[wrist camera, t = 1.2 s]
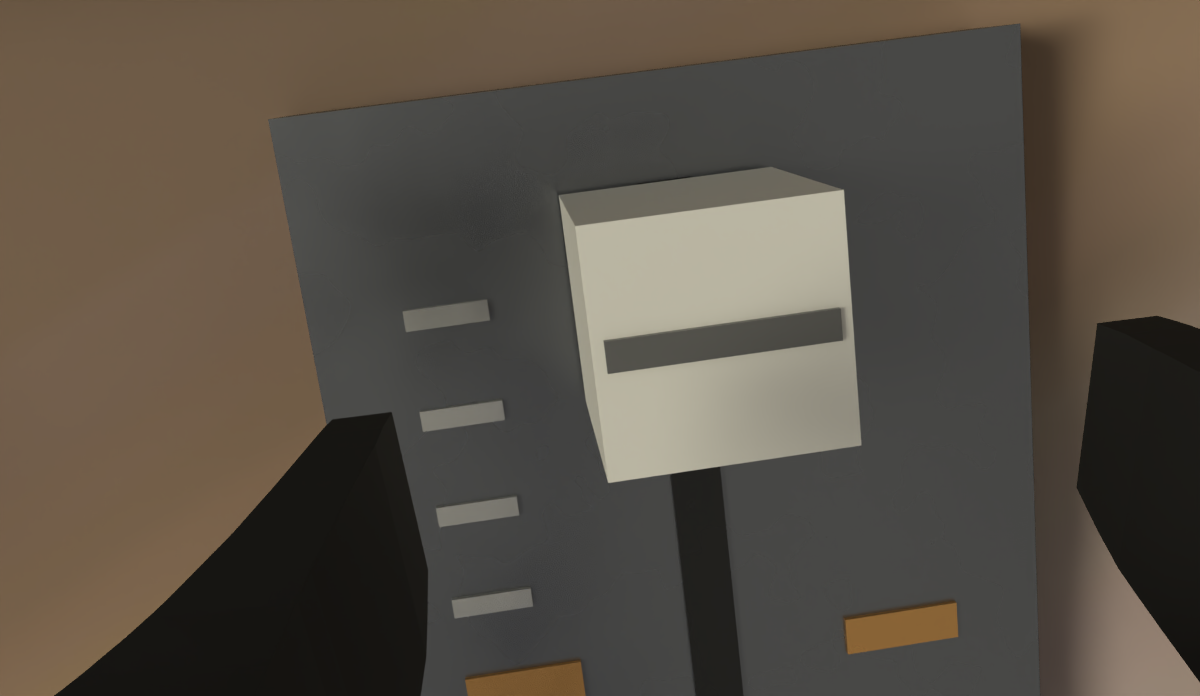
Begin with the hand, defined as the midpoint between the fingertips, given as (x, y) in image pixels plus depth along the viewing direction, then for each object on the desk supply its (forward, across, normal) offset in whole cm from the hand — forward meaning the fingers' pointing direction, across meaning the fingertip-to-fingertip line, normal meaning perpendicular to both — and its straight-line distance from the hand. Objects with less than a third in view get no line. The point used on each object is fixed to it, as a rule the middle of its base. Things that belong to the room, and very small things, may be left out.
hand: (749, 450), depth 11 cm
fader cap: (+10, 0, +3) cm, 10 cm away
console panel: (+11, 0, +7) cm, 13 cm away
